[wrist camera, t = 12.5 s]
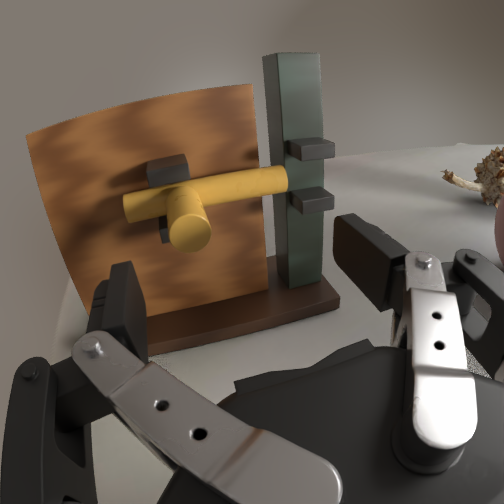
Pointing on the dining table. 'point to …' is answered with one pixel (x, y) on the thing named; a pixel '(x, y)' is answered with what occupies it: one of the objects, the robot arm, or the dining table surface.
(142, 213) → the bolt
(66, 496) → the robot arm
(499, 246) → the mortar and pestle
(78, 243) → the door
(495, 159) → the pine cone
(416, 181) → the dining table surface
